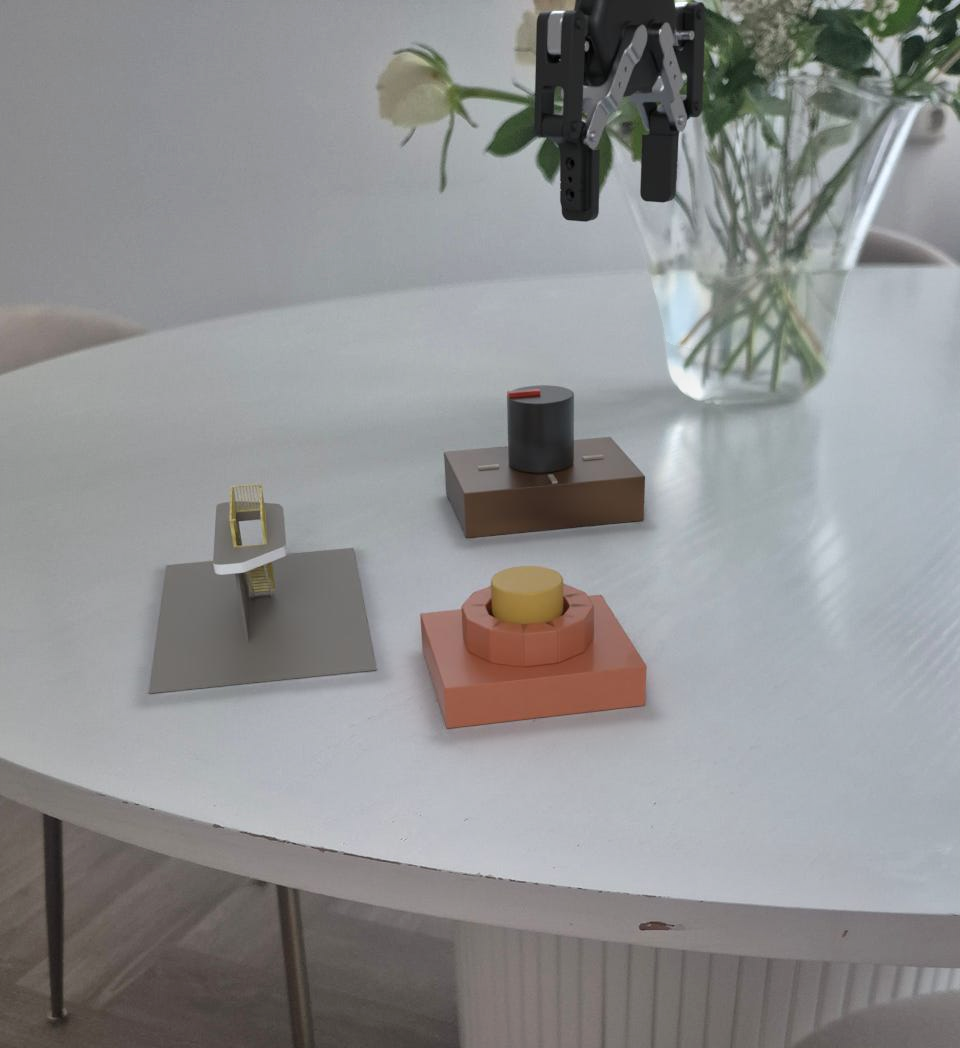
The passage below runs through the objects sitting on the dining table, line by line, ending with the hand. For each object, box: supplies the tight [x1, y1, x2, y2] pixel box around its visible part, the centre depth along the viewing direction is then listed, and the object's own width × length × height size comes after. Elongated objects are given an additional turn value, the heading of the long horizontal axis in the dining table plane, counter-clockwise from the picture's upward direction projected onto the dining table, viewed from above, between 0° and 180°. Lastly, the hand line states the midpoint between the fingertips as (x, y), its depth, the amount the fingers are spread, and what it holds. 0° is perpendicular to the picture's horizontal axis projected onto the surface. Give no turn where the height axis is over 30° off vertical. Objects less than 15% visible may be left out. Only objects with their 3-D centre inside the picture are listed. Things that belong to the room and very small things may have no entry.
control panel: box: [443, 436, 646, 539], centre depth 86 cm, size 12×9×3 cm
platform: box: [148, 483, 378, 694], centre depth 72 cm, size 12×18×7 cm, turn 9°
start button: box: [490, 565, 564, 624], centre depth 63 cm, size 4×4×2 cm
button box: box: [419, 582, 648, 729], centre depth 65 cm, size 10×9×4 cm
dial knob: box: [506, 384, 575, 473], centre depth 84 cm, size 4×4×5 cm
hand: (620, 210), depth 77 cm, fingers open, 8 cm apart
